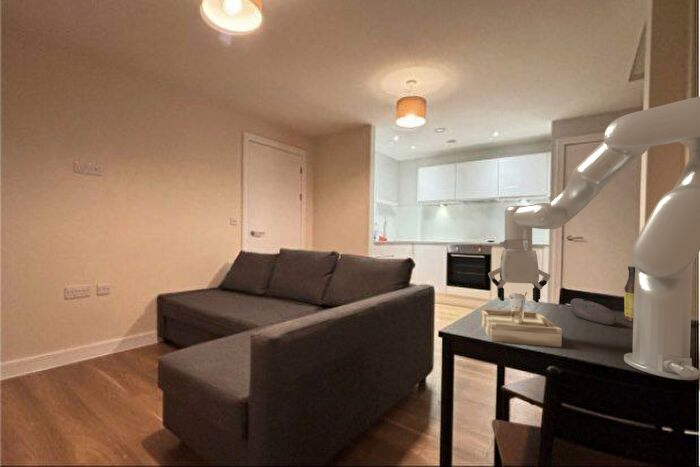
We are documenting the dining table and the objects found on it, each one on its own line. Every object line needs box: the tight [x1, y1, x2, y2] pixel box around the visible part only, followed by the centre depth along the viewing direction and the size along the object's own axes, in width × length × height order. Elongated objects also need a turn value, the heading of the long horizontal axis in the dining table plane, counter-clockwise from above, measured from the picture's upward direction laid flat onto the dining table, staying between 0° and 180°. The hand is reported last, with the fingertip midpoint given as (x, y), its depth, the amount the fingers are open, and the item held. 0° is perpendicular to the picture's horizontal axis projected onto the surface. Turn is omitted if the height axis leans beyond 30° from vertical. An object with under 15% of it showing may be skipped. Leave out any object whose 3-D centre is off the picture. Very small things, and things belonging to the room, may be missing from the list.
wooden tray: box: [479, 308, 563, 348], centre depth 96 cm, size 18×18×6 cm
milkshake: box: [508, 291, 528, 324], centre depth 96 cm, size 4×5×10 cm
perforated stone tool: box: [569, 297, 617, 326], centre depth 111 cm, size 15×5×7 cm, turn 13°
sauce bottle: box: [623, 265, 635, 323], centre depth 111 cm, size 7×6×20 cm
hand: (518, 300), depth 96 cm, fingers open, 9 cm apart
